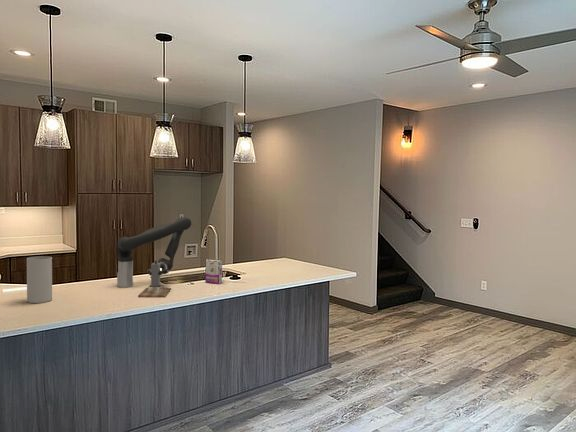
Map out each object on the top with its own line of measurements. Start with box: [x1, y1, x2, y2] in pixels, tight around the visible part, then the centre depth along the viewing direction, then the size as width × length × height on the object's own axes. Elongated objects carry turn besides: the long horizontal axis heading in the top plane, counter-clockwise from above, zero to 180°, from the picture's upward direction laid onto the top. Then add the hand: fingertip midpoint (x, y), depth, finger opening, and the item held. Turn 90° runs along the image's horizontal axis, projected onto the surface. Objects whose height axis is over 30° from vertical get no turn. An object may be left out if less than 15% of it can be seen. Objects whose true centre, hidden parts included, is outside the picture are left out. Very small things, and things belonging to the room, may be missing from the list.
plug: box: [150, 258, 161, 286], centre depth 268 cm, size 5×5×17 cm
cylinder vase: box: [26, 255, 53, 304], centre depth 244 cm, size 12×12×25 cm
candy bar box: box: [205, 259, 223, 285], centre depth 303 cm, size 11×5×16 cm, turn 70°
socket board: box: [137, 284, 172, 298], centre depth 269 cm, size 16×20×5 cm
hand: (154, 273), depth 266 cm, fingers closed on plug, 4 cm apart
